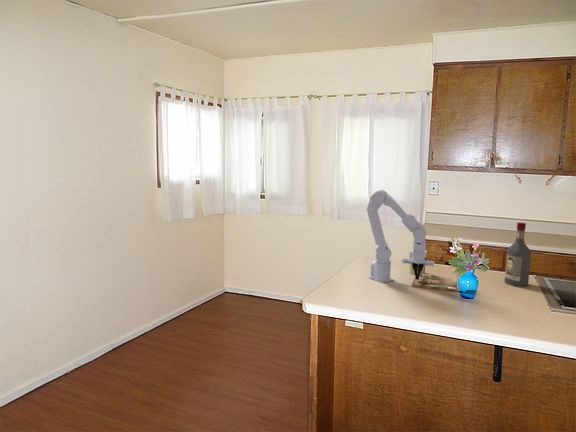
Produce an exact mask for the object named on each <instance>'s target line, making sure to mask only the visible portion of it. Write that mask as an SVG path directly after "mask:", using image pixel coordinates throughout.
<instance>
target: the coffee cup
mask: <svg viewBox="0 0 576 432" xmlns="http://www.w3.org/2000/svg"><path fill="white" fill-rule="evenodd" d="M412 253H413V248H411V249H409V251H408V259H412ZM427 256H428V251H427V250H425V260H427V258H428V257H427ZM418 265H419V264H418ZM426 266H427V265H424V267H423V269H422V271H421V273H420V275H419V276H422V274H426V273H425V272H426ZM408 271H409V273H408V274H410V275H414V276H415V273H414V270H413V268H412V264H409V263H408ZM417 273H418V271H417Z"/></svg>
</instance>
